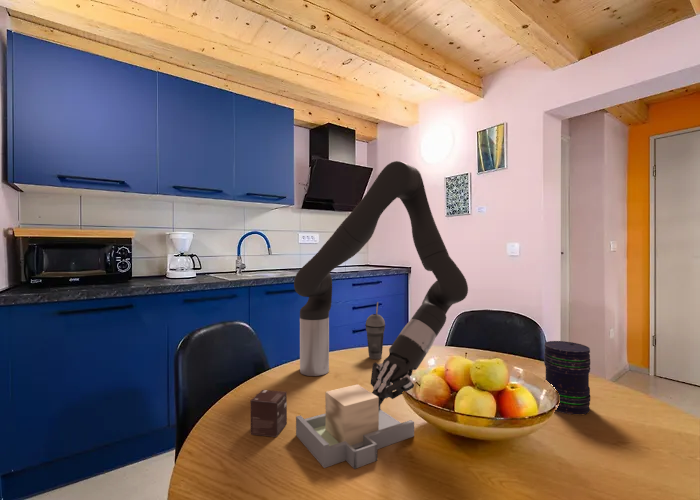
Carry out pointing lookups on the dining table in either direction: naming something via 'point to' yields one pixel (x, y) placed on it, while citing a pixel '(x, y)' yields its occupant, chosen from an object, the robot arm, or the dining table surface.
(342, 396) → the maple cube
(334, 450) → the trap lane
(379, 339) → the beverage cup
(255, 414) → the box
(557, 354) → the black striped cylinder
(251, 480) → the dining table surface
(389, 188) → the robot arm
